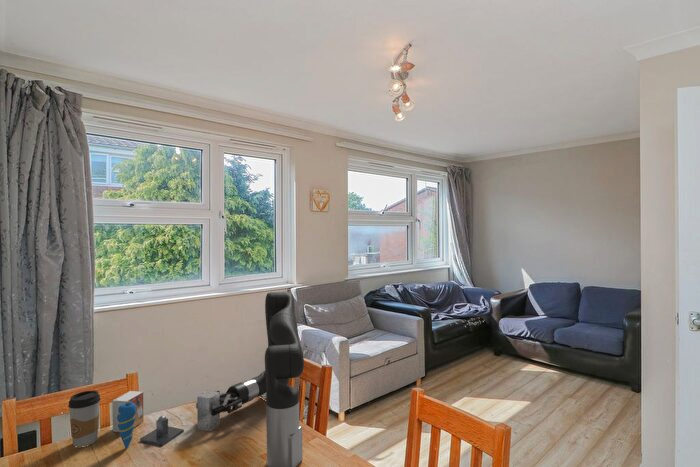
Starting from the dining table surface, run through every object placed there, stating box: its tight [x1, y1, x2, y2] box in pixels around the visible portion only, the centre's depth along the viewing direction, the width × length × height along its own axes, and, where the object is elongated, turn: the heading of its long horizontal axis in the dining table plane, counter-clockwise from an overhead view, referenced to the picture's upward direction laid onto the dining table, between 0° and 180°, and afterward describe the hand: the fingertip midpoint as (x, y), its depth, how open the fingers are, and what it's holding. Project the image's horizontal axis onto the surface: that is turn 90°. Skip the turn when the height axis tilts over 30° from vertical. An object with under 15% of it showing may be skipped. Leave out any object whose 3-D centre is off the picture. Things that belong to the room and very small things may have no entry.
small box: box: [111, 390, 145, 433], centre depth 131 cm, size 8×6×10 cm
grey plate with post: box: [139, 415, 185, 447], centre depth 125 cm, size 9×9×7 cm
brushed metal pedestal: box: [196, 390, 221, 432], centre depth 130 cm, size 5×5×11 cm
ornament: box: [117, 399, 136, 449], centre depth 118 cm, size 5×5×15 cm
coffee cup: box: [67, 390, 101, 447], centre depth 121 cm, size 8×8×15 cm
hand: (204, 409), depth 129 cm, fingers open, 8 cm apart
